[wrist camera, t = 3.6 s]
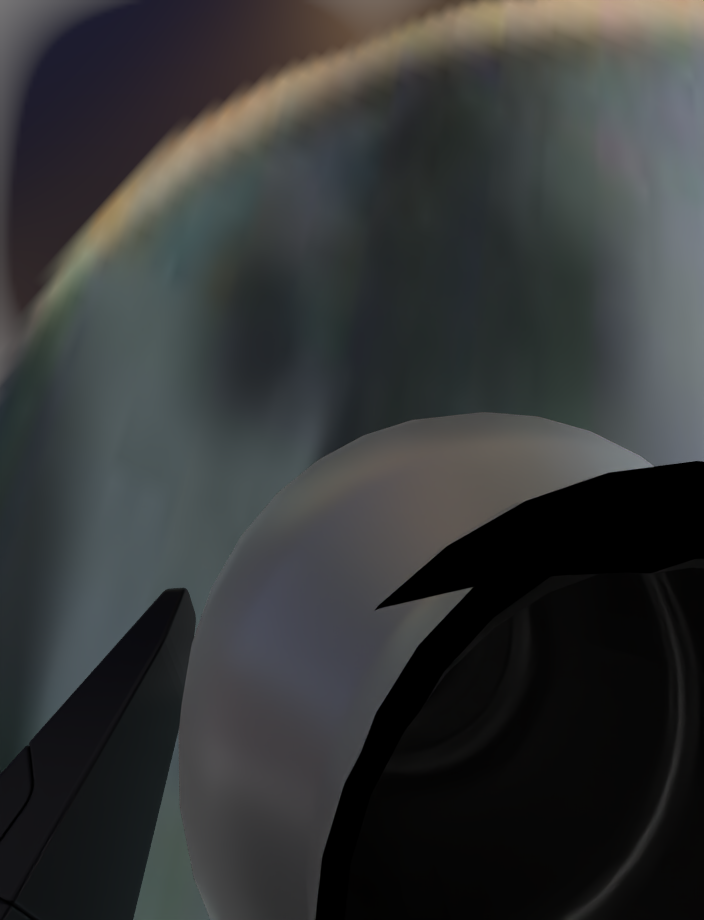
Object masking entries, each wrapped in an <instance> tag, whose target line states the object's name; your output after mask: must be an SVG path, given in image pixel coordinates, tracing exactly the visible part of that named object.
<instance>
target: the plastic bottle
mask: <svg viewBox="0 0 704 920" xmlns="http://www.w3.org/2000/svg"><path fill="white" fill-rule="evenodd" d="M179 796H180V810H181V815H182V821H183V826H184V831H185V836H186V841H187V846H188V851H189V856H190V861H191V866H192V871H193V876H194V880H195V882H196V885H197V887H198V890H199V892H200V895H201V897H202V900H203V902H204V905H205V907H206V910H207V912H208V915H209V917H210V920H704V462H702V461H694V462H686V463H679V464H671V465H663V466H655V467H654V466H653V465H652V464H650V463H649V462H648V461H646V460H645V459H644V458H642V457H641V456H639V455H637V454H635V453H633V452H631V451H629V450H627V449H625V448H623V447H621V446H619V445H617V444H615V443H613V442H611V441H609V440H607V439H605V438H603V437H601V436H599V435H597V434H595V433H593V432H591V431H588V430H585V429H581V428H578V427H574V426H570V425H567V424H563V423H560V422H556V421H552V420H549V419H545V418H542V417H538V416H527V415H515V414H503V413H490V412H479V413H470V414H461V415H452V416H443V417H434V418H425V419H416V420H410V421H407V422H404V423H401V424H398V425H394V426H391V427H388V428H385V429H382V430H379V431H375V432H372V433H369V434H366V435H363V436H361V437H359V438H358V439H356V440H354V441H352V442H350V443H348V444H347V445H345V446H343V447H341V448H339V449H337V450H335V451H334V452H332V453H330V454H328V455H326V456H324V457H323V458H321V459H319V460H317V461H316V462H315V463H314V464H313V465H311V466H310V467H309V468H308V469H306V470H305V471H304V472H303V473H302V474H300V475H299V476H298V477H297V478H295V479H294V480H293V481H292V482H291V483H289V484H288V485H287V486H286V487H284V488H283V489H282V490H281V491H280V492H278V493H277V494H276V495H275V497H274V498H273V499H272V500H271V501H270V502H269V504H268V505H267V506H266V507H265V508H264V510H263V511H262V512H261V513H260V514H259V515H258V517H257V518H256V519H255V520H254V521H253V523H252V524H251V525H250V526H249V527H248V528H247V530H246V531H245V532H244V533H243V534H242V536H241V537H240V539H239V541H238V542H237V544H236V546H235V548H234V549H233V551H232V553H231V554H230V556H229V558H228V560H227V561H226V563H225V565H224V567H223V568H222V570H221V572H220V574H219V575H218V577H217V579H216V581H215V582H214V584H213V586H212V588H211V591H210V594H209V597H208V599H207V602H206V605H205V608H204V611H203V613H202V616H201V619H200V622H199V625H198V627H197V630H196V633H195V636H194V639H193V642H192V645H191V651H190V657H189V663H188V669H187V675H186V681H185V687H184V693H183V699H182V705H181V715H180V726H179Z"/></svg>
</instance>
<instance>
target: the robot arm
mask: <svg viewBox="0 0 704 920" xmlns="http://www.w3.org/2000/svg"><path fill="white" fill-rule="evenodd" d="M195 623H196V617H195V611H194V608H193V605H192V602H191V599H190V595H189V592H188V590H187V589H186V588H173V589H167V590H165V591H164V592H163V593H162V594H161V595H160V596H159V597H158V598H157V600H156V601H155V602H154V603H153V604H152V605H151V606H150V607H149V608H148V610H147V611H146V612H145V613H144V614H143V615H142V616H141V617H140V619H139V620H138V621H137V622H136V623H135V624H134V625H133V626H132V628H131V629H130V630H129V631H128V632H127V633H126V634H125V635H124V637H123V638H122V639H121V640H120V641H119V642H118V643H117V644H116V646H115V647H114V648H113V649H112V650H111V651H110V652H109V653H108V655H107V656H106V657H105V658H104V659H103V660H102V661H101V662H100V663H99V665H98V666H97V667H96V668H95V669H94V670H93V671H92V672H91V674H90V675H89V676H88V677H87V678H86V679H85V680H84V681H83V683H82V684H81V685H80V686H79V687H78V688H77V689H76V690H75V692H74V693H73V694H72V695H71V696H70V697H69V698H68V699H67V701H66V702H65V703H64V704H63V705H62V706H61V707H60V708H59V710H58V711H57V712H56V713H55V714H54V715H53V716H52V717H51V718H50V720H49V721H48V722H47V723H46V724H45V725H44V726H43V727H42V729H41V730H40V731H39V732H38V733H37V734H36V735H35V736H34V738H33V739H32V740H31V741H30V743H29V746H26V747H24V749H23V750H22V751H21V752H20V753H19V754H18V755H17V756H16V758H15V759H14V760H13V761H12V762H11V763H10V764H9V765H8V767H7V768H6V769H5V770H4V771H3V772H2V773H1V774H0V920H133V918H134V913H135V909H136V905H137V901H138V897H139V893H140V888H141V884H142V880H143V876H144V872H145V868H146V863H147V859H148V855H149V851H150V847H151V843H152V838H153V834H154V830H155V826H156V822H157V817H158V813H159V809H160V805H161V801H162V797H163V792H164V788H165V784H166V780H167V776H168V772H169V767H170V763H171V759H172V755H173V751H174V747H175V742H176V738H177V734H178V730H179V726H180V715H181V705H182V699H183V693H184V687H185V681H186V675H187V669H188V663H189V657H190V651H191V645H192V642H193V639H194V632H195Z"/></svg>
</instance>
